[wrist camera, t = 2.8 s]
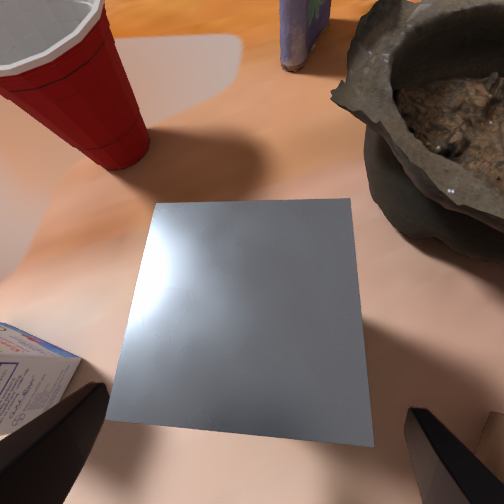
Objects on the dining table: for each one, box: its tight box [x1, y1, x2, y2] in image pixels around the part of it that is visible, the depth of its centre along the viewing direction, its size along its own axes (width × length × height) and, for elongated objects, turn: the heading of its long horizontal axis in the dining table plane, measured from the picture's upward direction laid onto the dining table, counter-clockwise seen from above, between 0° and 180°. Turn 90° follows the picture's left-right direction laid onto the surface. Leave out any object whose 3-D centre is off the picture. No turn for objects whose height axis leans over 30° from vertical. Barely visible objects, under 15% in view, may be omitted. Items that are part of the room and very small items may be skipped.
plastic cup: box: [0, 0, 150, 170], centre depth 22 cm, size 11×11×12 cm
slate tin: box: [105, 198, 375, 448], centre depth 13 cm, size 6×6×12 cm
